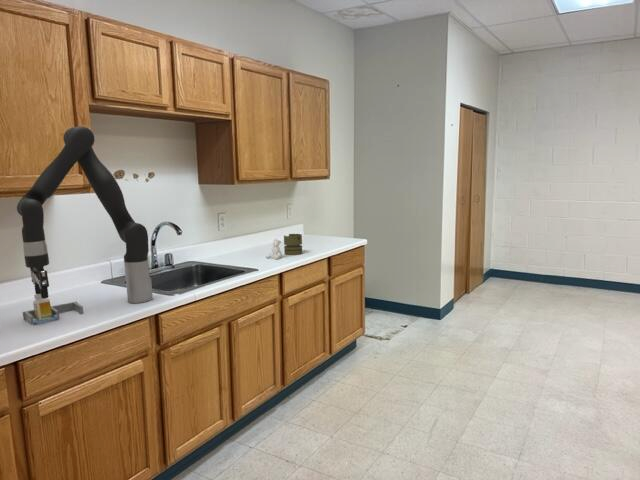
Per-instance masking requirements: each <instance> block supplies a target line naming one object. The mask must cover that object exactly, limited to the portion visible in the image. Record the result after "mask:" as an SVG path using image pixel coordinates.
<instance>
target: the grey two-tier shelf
mask: <svg viewBox="0 0 640 480" xmlns="http://www.w3.org/2000/svg"><path fill="white" fill-rule="evenodd" d="M50 306H51V312H52V318H54V315H58V318H59V320H60V319H61V318H60V314H61V313H66V312H71V311H75V312H77V313H78V314H80V315H84V306H83V305H81V304H80V303H78V301H71V302H67V303H62V304H56V305H50ZM22 319H23V321H26V322H27V323H28V324H29V325H30V326H34V325H33V323H32V322H33V320H34V319H36V317H35V311H34V309H30V310H26V311H22Z"/></svg>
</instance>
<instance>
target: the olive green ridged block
mask: <svg viewBox="0 0 640 480" xmlns="http://www.w3.org/2000/svg"><path fill="white" fill-rule="evenodd" d="M302 235H303V234H301V233H289V234H288V235H283V245H284V246H283V249H284V250H283V251H284V255H285V256H301V255H303V245H302V244H303V236H302Z"/></svg>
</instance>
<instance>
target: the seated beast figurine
mask: <svg viewBox="0 0 640 480" xmlns="http://www.w3.org/2000/svg"><path fill="white" fill-rule="evenodd" d="M280 244H282V241H281V240H279V239H278V238H274V239H273V241H272V248H271V253H268V254H267V255H265V259H267V260H269V259H270V260H274V261H279V260H280V259H281V258H282V256H283V253H282V251H281V249H280Z"/></svg>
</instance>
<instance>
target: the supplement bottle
mask: <svg viewBox="0 0 640 480" xmlns="http://www.w3.org/2000/svg"><path fill="white" fill-rule="evenodd" d="M34 299H35V300H33V303H32V304H33V310H34V311H35V317H36V318H35V319H37V321H42V320H47V319H51V318H53V316H52V312H51V306H52V305H51V300H50V298H49V297H48V298H44V299H43V298H41V294H36V293H35V294H34Z"/></svg>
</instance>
